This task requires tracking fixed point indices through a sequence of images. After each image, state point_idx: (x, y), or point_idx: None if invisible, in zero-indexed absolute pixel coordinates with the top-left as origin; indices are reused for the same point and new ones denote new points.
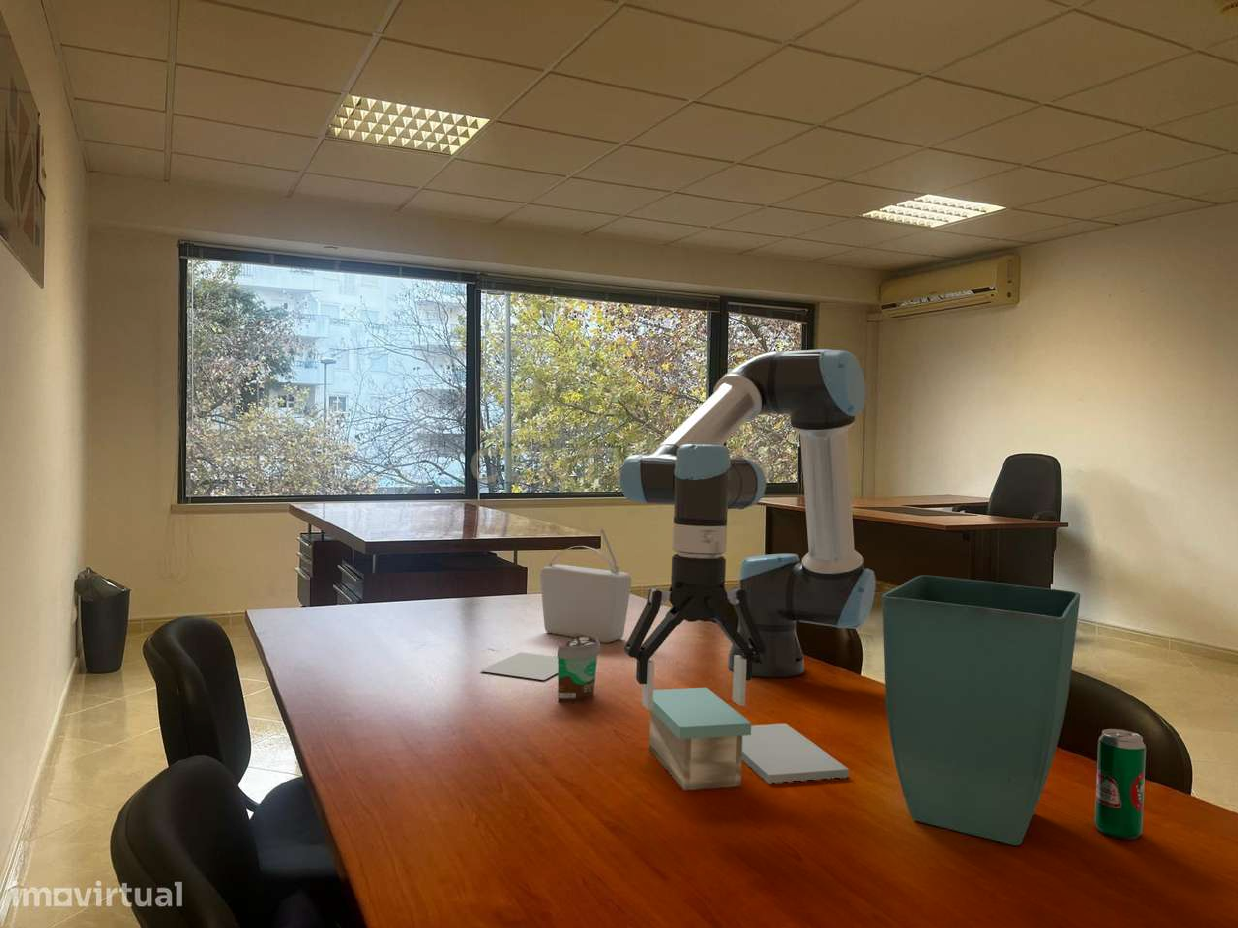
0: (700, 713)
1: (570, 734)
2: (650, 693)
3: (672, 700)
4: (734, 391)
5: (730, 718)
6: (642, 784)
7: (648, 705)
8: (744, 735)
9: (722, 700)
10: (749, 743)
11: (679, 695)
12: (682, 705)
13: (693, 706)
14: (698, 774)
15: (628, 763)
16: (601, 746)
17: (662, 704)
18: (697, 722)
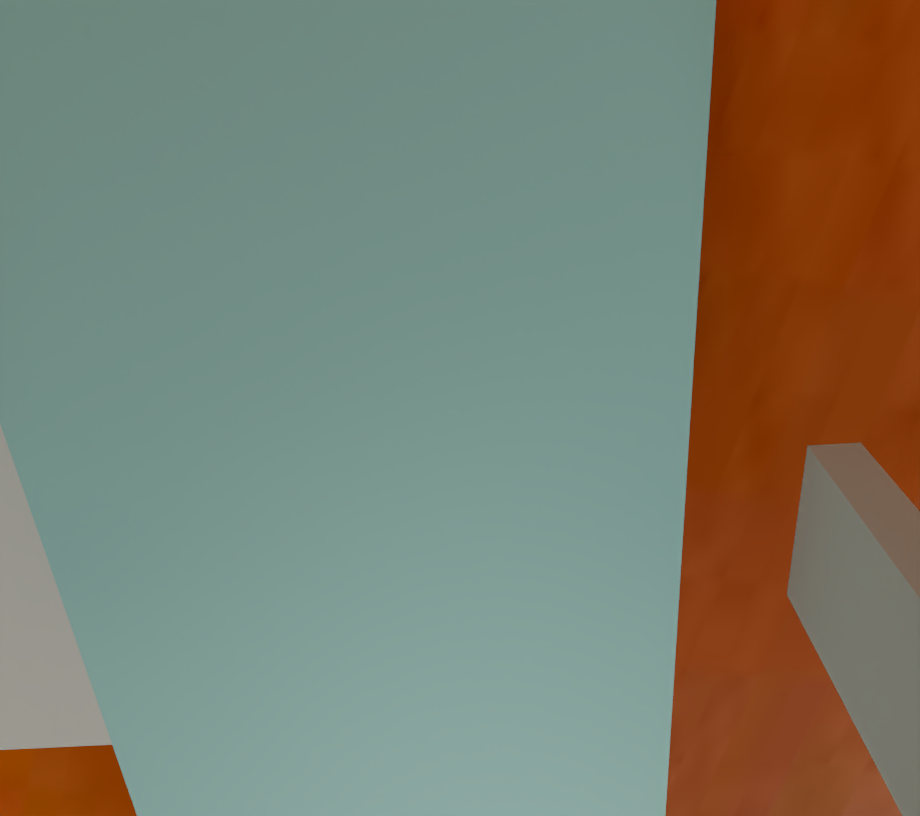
0: (356, 342)
1: (875, 771)
2: (904, 536)
3: (513, 681)
4: None
5: (68, 156)
6: (774, 104)
7: (868, 461)
8: (30, 636)
9: (83, 650)
10: (15, 531)
11: (420, 776)
12: (466, 563)
13: (374, 532)
14: None
15: (737, 418)
16: (789, 634)
17: (633, 600)
18: (466, 46)
